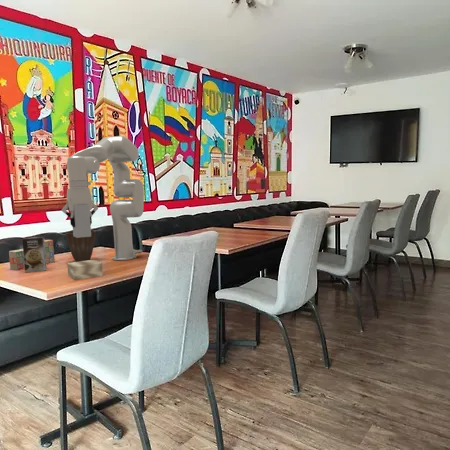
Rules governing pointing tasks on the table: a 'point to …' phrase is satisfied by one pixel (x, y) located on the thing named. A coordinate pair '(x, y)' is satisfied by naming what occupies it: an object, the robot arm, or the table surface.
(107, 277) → the table surface
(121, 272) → the table surface
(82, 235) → the grey block
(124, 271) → the table surface
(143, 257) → the table surface
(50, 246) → the stack of blocks
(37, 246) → the coffee box
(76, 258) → the plant pot
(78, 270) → the beige metal block
